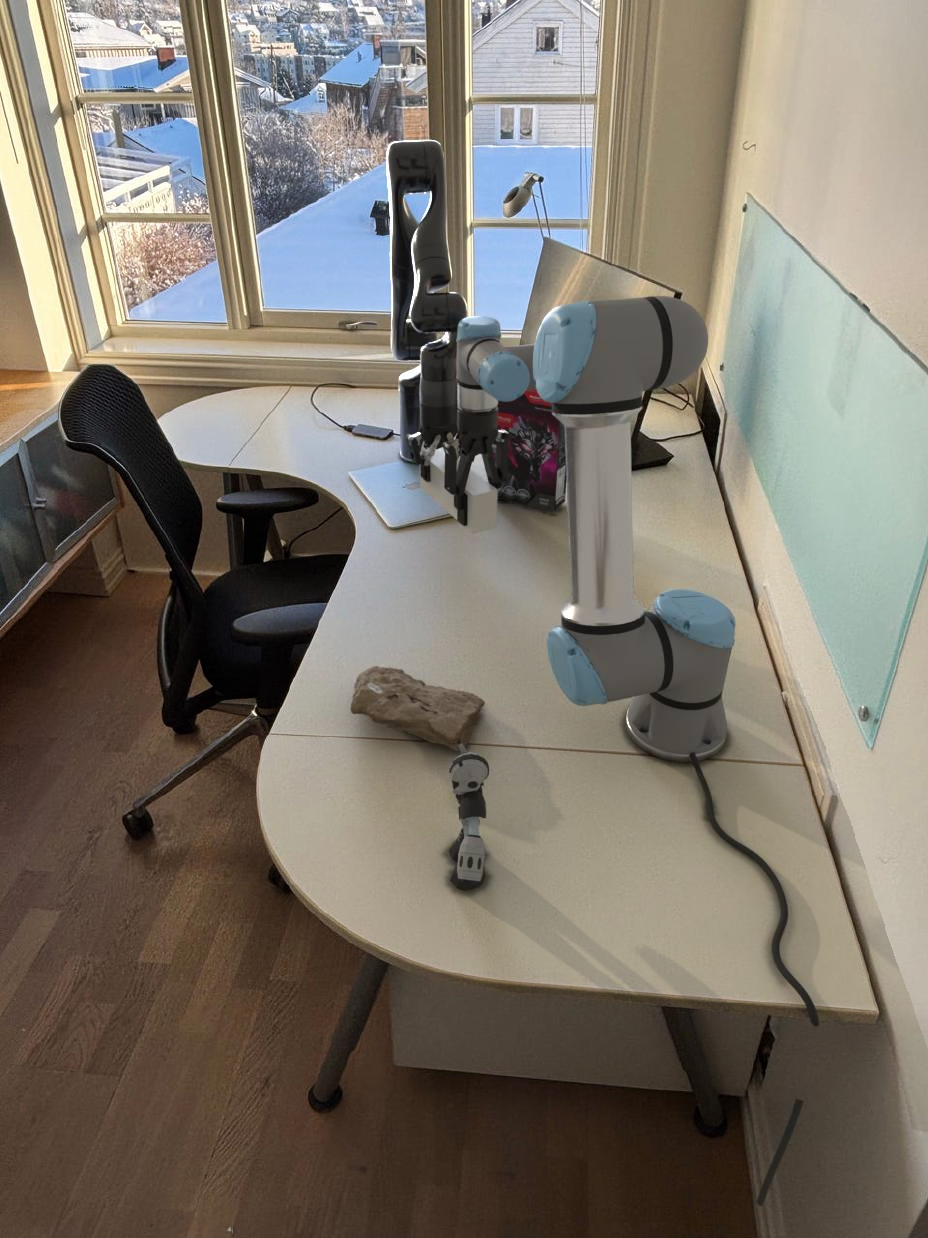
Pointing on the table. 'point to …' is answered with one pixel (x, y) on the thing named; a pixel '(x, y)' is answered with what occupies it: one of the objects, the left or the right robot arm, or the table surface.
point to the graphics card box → (533, 453)
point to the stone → (416, 706)
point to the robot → (469, 818)
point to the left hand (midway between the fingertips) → (439, 477)
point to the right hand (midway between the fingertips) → (475, 519)
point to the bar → (477, 489)
